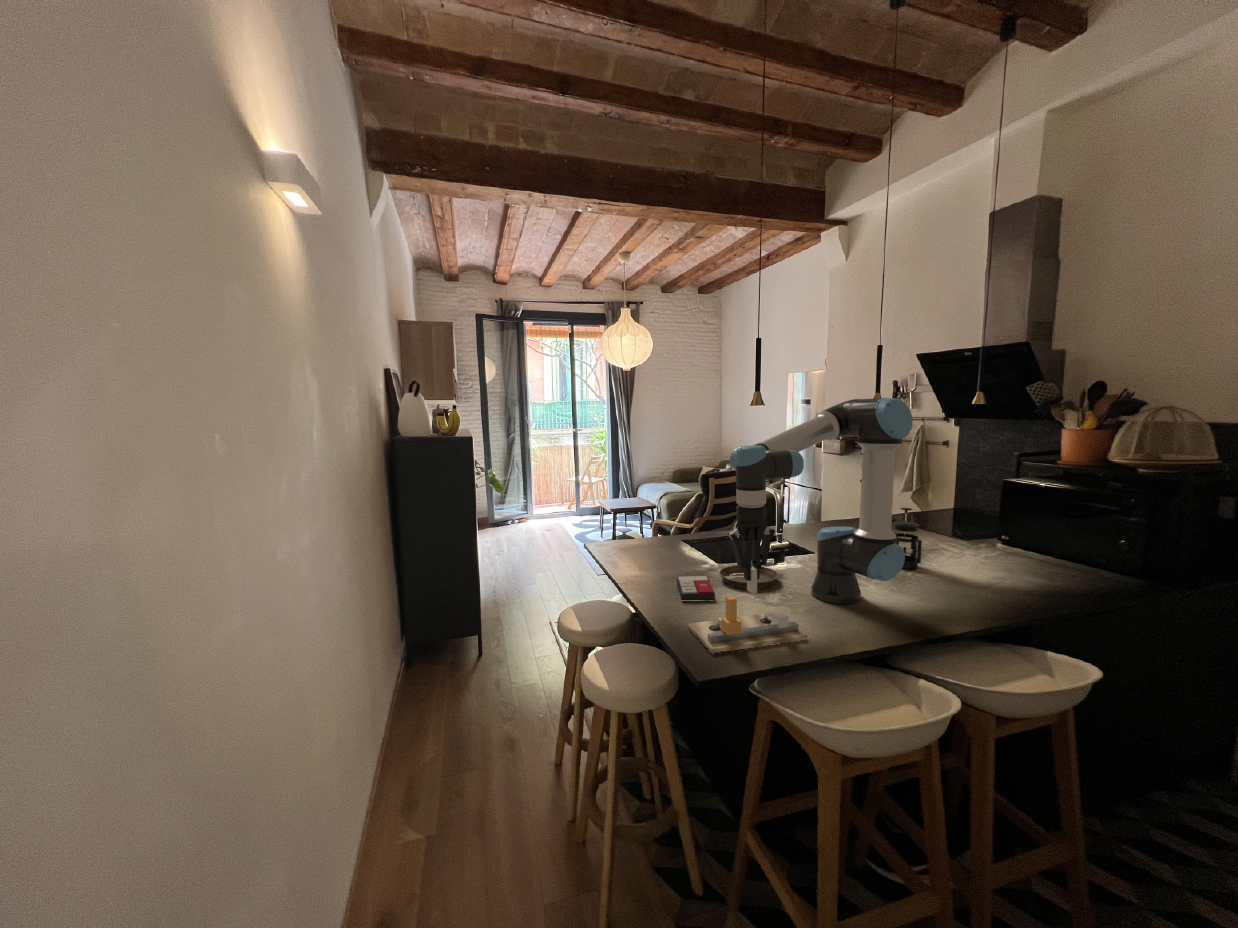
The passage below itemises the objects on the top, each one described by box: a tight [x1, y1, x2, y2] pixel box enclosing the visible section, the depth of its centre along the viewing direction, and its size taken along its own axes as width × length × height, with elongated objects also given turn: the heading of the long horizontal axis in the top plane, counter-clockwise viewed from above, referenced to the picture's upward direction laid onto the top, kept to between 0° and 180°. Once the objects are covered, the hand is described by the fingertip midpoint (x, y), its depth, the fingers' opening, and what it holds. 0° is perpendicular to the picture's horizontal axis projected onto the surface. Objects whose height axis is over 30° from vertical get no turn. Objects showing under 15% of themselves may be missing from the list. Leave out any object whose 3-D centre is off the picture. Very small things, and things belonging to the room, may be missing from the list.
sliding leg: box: [716, 595, 741, 635], centre depth 136 cm, size 4×10×11 cm, turn 14°
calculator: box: [676, 575, 716, 601], centre depth 172 cm, size 11×4×15 cm
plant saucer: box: [719, 565, 779, 589], centre depth 183 cm, size 21×21×3 cm
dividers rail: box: [708, 611, 800, 644], centre depth 138 cm, size 26×10×5 cm, turn 104°
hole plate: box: [687, 611, 808, 653], centre depth 140 cm, size 28×16×2 cm, turn 104°
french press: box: [892, 507, 923, 571], centre depth 193 cm, size 12×9×23 cm
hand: (752, 591), depth 134 cm, fingers closed
